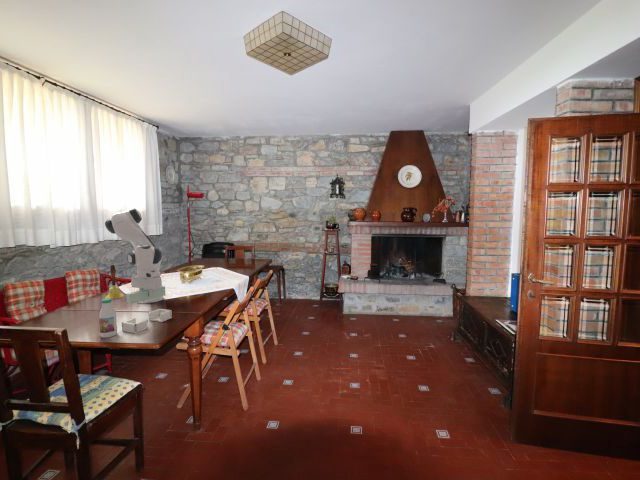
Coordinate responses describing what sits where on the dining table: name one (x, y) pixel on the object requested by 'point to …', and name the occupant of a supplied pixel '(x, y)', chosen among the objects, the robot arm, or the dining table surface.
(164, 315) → the endcap
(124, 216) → the robot arm
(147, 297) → the slat
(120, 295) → the handbell
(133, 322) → the endcap
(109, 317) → the milk bottle
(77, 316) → the dining table surface
